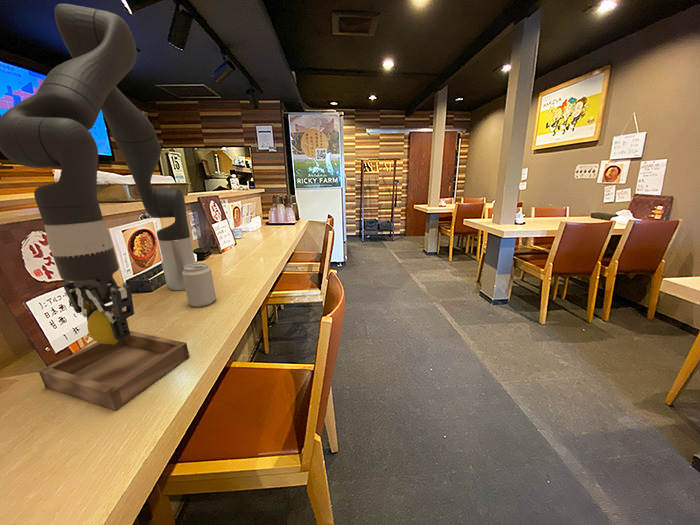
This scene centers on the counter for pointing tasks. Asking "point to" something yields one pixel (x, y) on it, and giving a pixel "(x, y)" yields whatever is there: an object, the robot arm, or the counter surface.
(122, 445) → the counter surface
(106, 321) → the lemon
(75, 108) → the robot arm
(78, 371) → the tray
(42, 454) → the counter surface
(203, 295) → the can
